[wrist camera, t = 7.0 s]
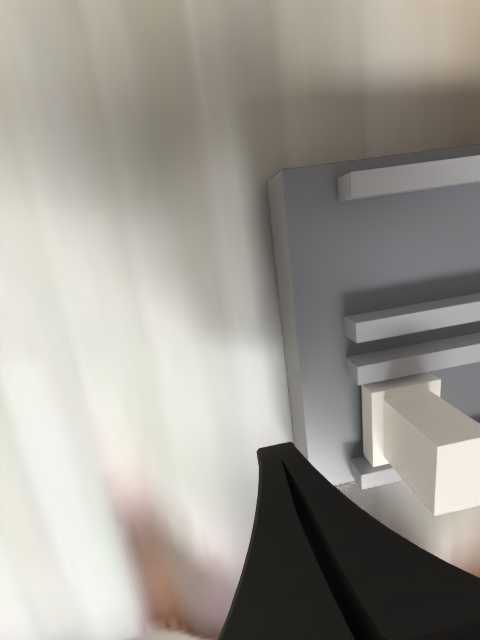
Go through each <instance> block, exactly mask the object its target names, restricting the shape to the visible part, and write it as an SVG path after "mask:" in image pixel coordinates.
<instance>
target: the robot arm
mask: <svg viewBox="0 0 480 640" xmlns="http://www.w3.org/2000/svg"><path fill="white" fill-rule="evenodd" d="M257 457H258V464H259V485H258V497H257V505H256V512H255V519H254V524H253V529H252V534H251V539H250V543H249V548H248V552H247V555H246V559H245V563H244V567H243V570H242V574H241V577H240V580H239V583H238V586H237V589H236V592H235V595H234V598H233V601H232V604H231V607H230V610H229V613H228V616H227V618H226V621H225V623H224V626H223V628H222V631H221V633H220V636H219V638H218V640H480V578H478V577H476V576H474V575H472V574H470V573H468V572H466V571H464V570H462V569H460V568H458V567H456V566H453V565H451V564H449V563H447V562H445V561H443V560H442V559H440V558H438V557H436V556H434V555H433V554H431V553H429V552H427V551H425V550H423V549H422V548H420V547H418V546H417V545H415V544H413V543H412V542H410V541H408V540H407V539H405V538H404V537H402V536H400V535H399V534H397V533H395V532H394V531H392V530H391V529H389V528H388V527H386V526H385V525H383V524H382V523H380V522H379V521H378V520H376V519H375V518H373V517H372V516H371V515H369V514H368V513H367V512H365V511H364V510H363V509H361V508H360V507H359V506H357V505H356V504H355V503H354V502H352V501H351V500H350V499H349V498H347V497H346V496H345V495H344V494H343V493H342V492H340V491H339V490H338V489H337V488H336V487H335V486H334V485H333V484H331V483H330V482H329V481H328V480H327V479H326V478H325V477H324V476H323V475H322V474H321V473H320V472H319V471H318V470H317V469H316V468H315V467H314V466H313V465H312V464H311V463H310V462H309V461H308V460H307V459H306V458H305V457H304V456H303V454H302V453H301V452H300V451H299V450H298V449H297V448H296V446H295V445H294V444H293V443H291V442H287V443H282V444H277V445H273V446H268V447H263V448H259V449H258V450H257Z"/></svg>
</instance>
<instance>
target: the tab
mask: <svg viewBox="0 0 480 640" xmlns="http://www.w3.org/2000/svg"><path fill="white" fill-rule="evenodd" d="M361 391H362V423H363V454H364V456H365V457H366V458H367V460H368V461H369V462H370V464H371V465H372V466H373V467H376V466H380V465H385V464H390V465H391V466H392V467H393V468H394V469H395V471H396V472H397V473H398V474H399V475H400V477H401V478H402V479H403V480H404V481H405V483H406V484H407V485H408V486H409V487H410V488H411V490H412V491H413V492H414V493H415V494H416V496H417V497H418V498H419V499H420V500H421V501H422V503H423V504H424V505H425V506H426V507H427V509H428V510H429V511H430V512H431V513H432V514H433V516H437V515H441V514H445V513H450V512H454V511H458V510H462V509H466V508H470V507H474V506H478V505H480V423H478V422H476V421H475V420H473V419H472V418H470V417H469V416H467V415H466V414H464V413H463V412H461V411H460V410H458V409H457V408H455V407H454V406H452V405H451V404H449V403H448V402H446V401H445V400H443V399H442V398H440V391H441V379H440V378H438V377H436V376H435V375H433V374H431V373H429V372H424V373H419V374H414V375H409V376H404V377H399V378H393V379H388V380H383V381H378V382H373V383H368V384H363V385H361Z"/></svg>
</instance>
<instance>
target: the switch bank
mask: <svg viewBox="0 0 480 640" xmlns="http://www.w3.org/2000/svg"><path fill="white" fill-rule="evenodd" d="M266 183H267V193H268V202H269V212H270V221H271V231H272V240H273V249H274V259H275V268H276V278H277V287H278V297H279V306H280V315H281V325H282V334H283V344H284V353H285V363H286V372H287V381H288V391H289V400H290V410H291V419H292V429H293V438H294V445H295V446H296V448H297V449H298V450H299V451H300V452H301V453H302V454H303V456H304V457H305V458H306V459H307V460H308V461H309V462H310V463H311V464H312V465H313V466H314V467H315V468H316V469H317V470H318V471H319V472H320V473H321V474H322V475H323V476H324V477H325V478H326V479H327V480H328V481H329V482H330V483H331V484H333V485H339V484H343V483H348V482H352V481H356V482H357V483H358V485H359V486H360V488H361V490H364V489H368V488H372V487H377V486H381V485H385V484H390V483H394V482H398V481H403V479H402V478H401V477H400V475H399V474H398V473H397V472H396V471H395V469H394V468H393V467H392V466H391V465H390V464H385V465H380V466H376V467H373V466H372V465H371V464H370V462H369V461H368V460H367V458H366V457H365V456H364V454H363V423H362V391H361V385H363V384H368V383H373V382H378V381H383V380H388V379H393V378H399V377H404V376H409V375H414V374H419V373H424V372H429V373H431V374H433V375H435V376H436V377H438V378H440V379H441V391H440V398H442V399H443V400H445V401H446V402H448V403H449V404H451V405H452V406H454V407H455V408H457V409H458V410H460V411H461V412H463V413H464V414H466V415H467V416H469V417H470V418H472V419H473V420H475V421H476V422H478V423H480V144H478V145H470V146H462V147H454V148H447V149H439V150H431V151H423V152H415V153H408V154H400V155H392V156H384V157H376V158H369V159H361V160H353V161H345V162H337V163H330V164H322V165H314V166H306V167H299V168H291V169H283V170H281V171H279V172H278V173H277V174H276V175H275V176H273V177H272V178H271V179H270V180H269V181H267V182H266Z"/></svg>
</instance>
